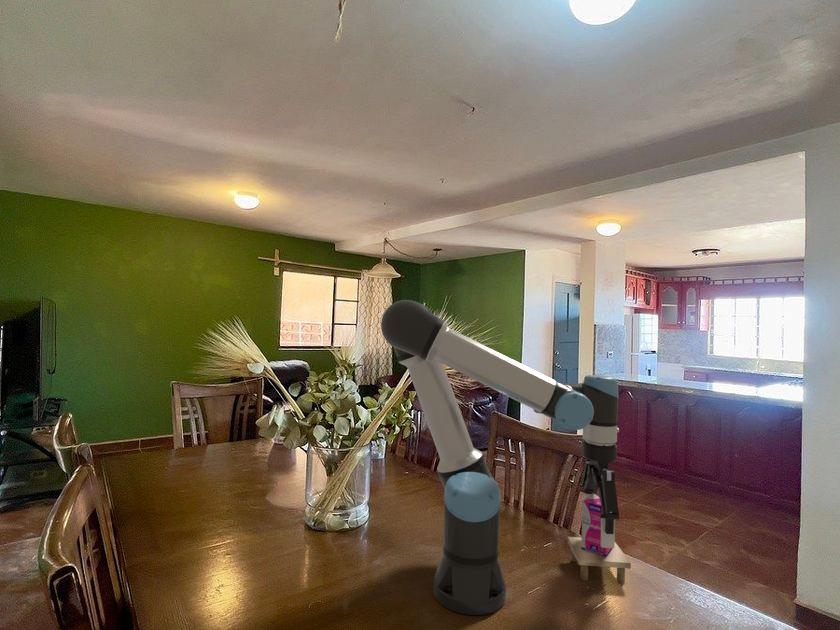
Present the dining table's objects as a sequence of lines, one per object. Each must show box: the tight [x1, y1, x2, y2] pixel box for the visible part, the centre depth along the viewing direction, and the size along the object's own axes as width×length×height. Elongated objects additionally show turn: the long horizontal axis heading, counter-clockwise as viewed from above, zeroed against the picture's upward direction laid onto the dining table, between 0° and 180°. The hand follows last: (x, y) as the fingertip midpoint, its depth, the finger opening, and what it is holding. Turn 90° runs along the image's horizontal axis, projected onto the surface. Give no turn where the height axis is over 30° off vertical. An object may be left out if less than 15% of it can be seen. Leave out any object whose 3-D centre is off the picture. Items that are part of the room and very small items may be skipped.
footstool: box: [567, 536, 632, 585], centre depth 106 cm, size 11×11×5 cm
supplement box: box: [581, 493, 612, 557], centre depth 106 cm, size 6×6×12 cm
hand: (597, 533), depth 106 cm, fingers open, 13 cm apart
